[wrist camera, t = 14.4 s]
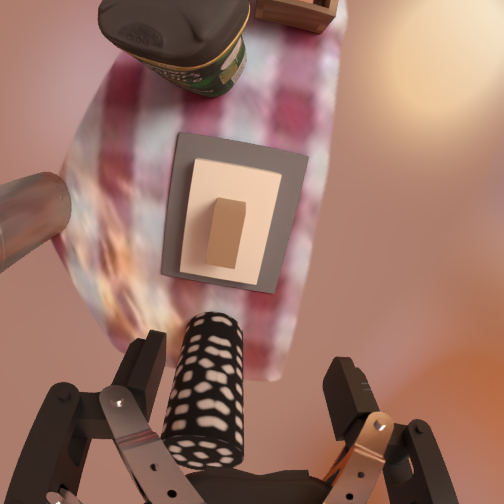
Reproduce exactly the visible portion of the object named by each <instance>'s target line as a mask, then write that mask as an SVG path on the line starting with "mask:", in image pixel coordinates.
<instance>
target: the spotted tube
mask: <svg viewBox="0 0 504 504" xmlns="http://www.w3.org/2000/svg"><path fill="white" fill-rule="evenodd" d="M243 412H244V410H243V332H242V329H241V327H240V325H239V324H238V322H237V321H236V320H234V319H233V318H232V317H230V316H228V315H226V314H223V313H219V312H205V313H202V314H199V315H197V316H195V317H194V318H193V319H192V320H191V321H190V322H189V324H188V326H187V329H186V333H185V336H184V340H183V344H182V348H181V352H180V356H179V360H178V364H177V368H176V372H175V376H174V380H173V384H172V389H171V393H170V397H169V402H168V406H167V410H166V415H165V419H164V424H163V428H162V433H161V437H160V439H161V440H162V442H163V443H164V445H165V447H166V448H167V450H168V451H169V453H170V454H171V456H172V457H173V459H174V460H175V462H176V463H177V464H178V465H180V466H183V467H187V468H191V469H195V470H202V471H205V469H206V465H209V466H217V467H226V468H233V467H236V466H238V465H239V464H240V463H242V461H243V460H244V413H243Z"/></svg>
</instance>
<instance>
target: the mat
mask: <svg viewBox="0 0 504 504" xmlns="http://www.w3.org/2000/svg"><path fill="white" fill-rule="evenodd" d="M197 158H201V159H207V160H213V161H219V162H225V163H231V164H236V165H242V166H247V167H252V168H257V169H262V170H267V171H272V172H277V173H280V174H281V175H282V176H281V181H280V185H279V190H278V194H277V198H276V203H275V207H274V212H273V216H272V220H271V225H270V229H269V233H268V238H267V242H266V246H265V251H264V255H263V259H262V263H261V268H260V272H259V276H258V280H257V284H256V285H254V284H248V283H242V282H236V281H230V280H224V279H218V278H212V277H207V276H201V275H196V274H190V273H185V272H180V265H181V256H182V247H183V239H184V231H185V223H186V216H187V209H188V202H189V195H190V188H191V182H192V176H193V170H194V164H195V159H197ZM308 159H309V156H305V155H301V154H297V153H292V152H288V151H284V150H279V149H275V148H270V147H265V146H260V145H256V144H250V143H245V142H240V141H234V140H229V139H223V138H217V137H210V136H204V135H197V134H190V133H182V132H179V137H178V143H177V149H176V155H175V161H174V167H173V174H172V181H171V188H170V195H169V203H168V212H167V220H166V229H165V239H164V250H163V262H162V274H163V275H168V276H174V277H179V278H184V279H190V280H195V281H201V282H206V283H212V284H218V285H223V286H229V287H235V288H241V289H247V290H253V291H259V292H266V293H272V294H274V293H275V290H276V286H277V282H278V278H279V275H280V271H281V267H282V264H283V260H284V256H285V252H286V248H287V245H288V241H289V237H290V233H291V229H292V225H293V221H294V217H295V213H296V209H297V205H298V201H299V197H300V193H301V189H302V185H303V180H304V176H305V172H306V168H307V163H308Z"/></svg>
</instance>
